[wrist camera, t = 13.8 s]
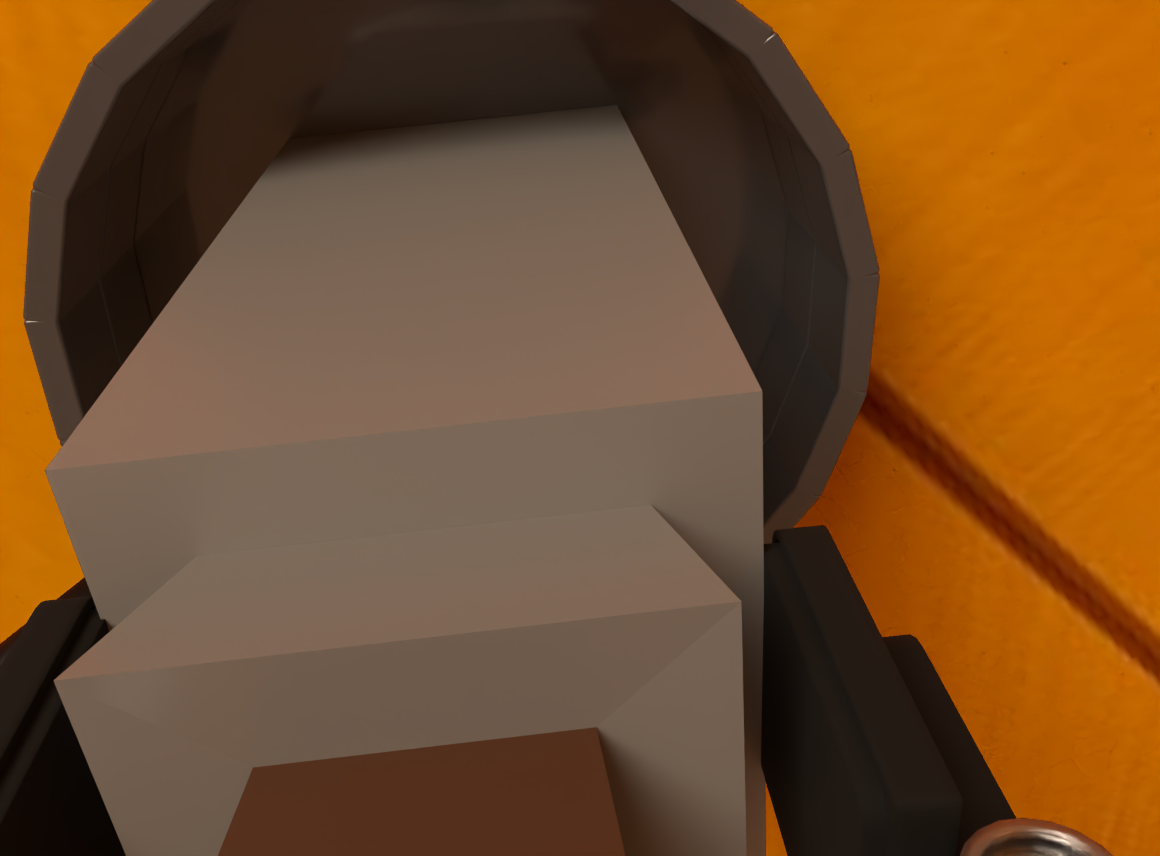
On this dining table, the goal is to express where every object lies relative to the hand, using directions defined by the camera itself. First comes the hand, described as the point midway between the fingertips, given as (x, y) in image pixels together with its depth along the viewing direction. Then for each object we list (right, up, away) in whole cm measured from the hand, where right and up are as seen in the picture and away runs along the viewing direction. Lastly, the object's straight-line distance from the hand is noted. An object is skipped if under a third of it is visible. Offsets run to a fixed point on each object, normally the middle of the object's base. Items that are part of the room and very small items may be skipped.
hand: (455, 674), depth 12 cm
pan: (-1, +6, +12) cm, 14 cm away
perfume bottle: (-1, +6, +12) cm, 13 cm away
